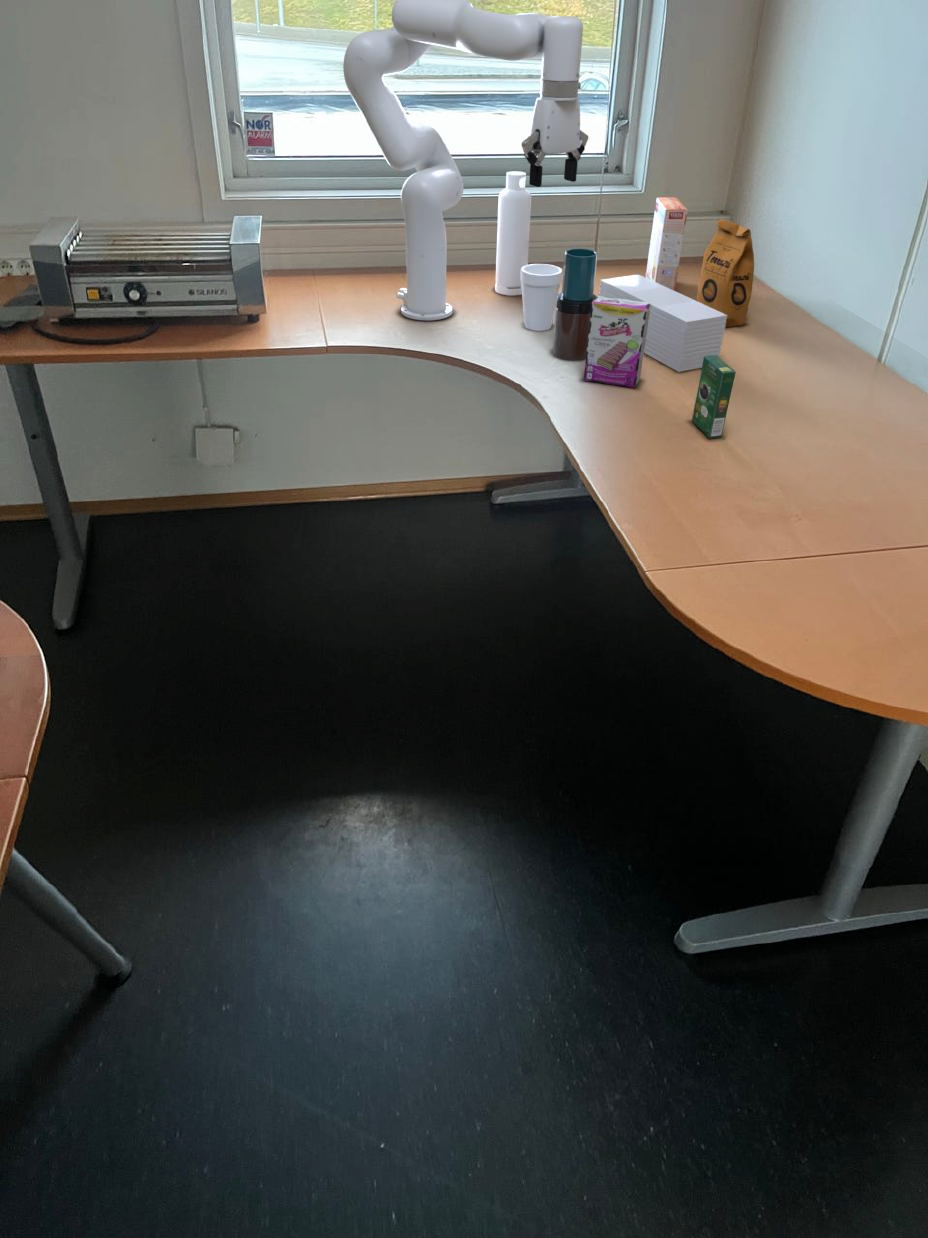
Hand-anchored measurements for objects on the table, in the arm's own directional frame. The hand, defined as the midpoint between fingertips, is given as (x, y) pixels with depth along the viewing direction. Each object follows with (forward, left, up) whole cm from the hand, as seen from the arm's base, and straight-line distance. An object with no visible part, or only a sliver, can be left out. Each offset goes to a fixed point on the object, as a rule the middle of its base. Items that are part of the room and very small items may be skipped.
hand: (552, 182), depth 193 cm
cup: (+12, -6, -20) cm, 24 cm away
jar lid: (+12, -6, -20) cm, 24 cm away
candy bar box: (+27, -14, -32) cm, 45 cm away
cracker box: (+3, +51, -32) cm, 61 cm away
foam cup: (-4, +4, -32) cm, 33 cm away
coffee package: (+27, +37, -32) cm, 56 cm away
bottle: (-25, +22, -32) cm, 47 cm away
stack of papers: (+23, +11, -32) cm, 41 cm away
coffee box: (+53, -23, -32) cm, 66 cm away
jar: (+12, -6, -32) cm, 35 cm away
